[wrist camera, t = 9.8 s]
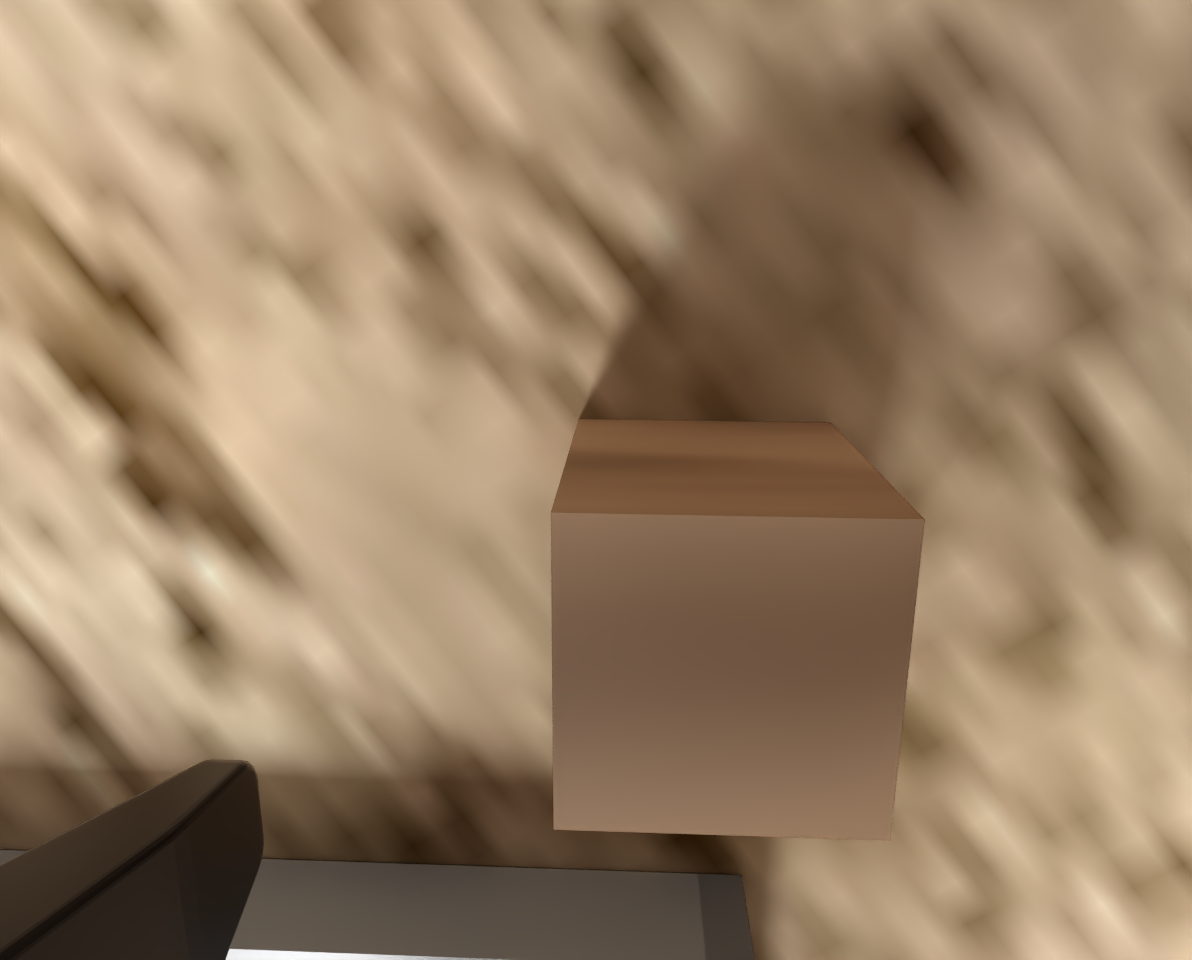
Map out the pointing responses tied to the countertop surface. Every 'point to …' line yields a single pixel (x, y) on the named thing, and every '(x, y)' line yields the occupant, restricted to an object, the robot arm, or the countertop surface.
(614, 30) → the countertop surface
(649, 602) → the walnut block
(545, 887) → the parts tray
